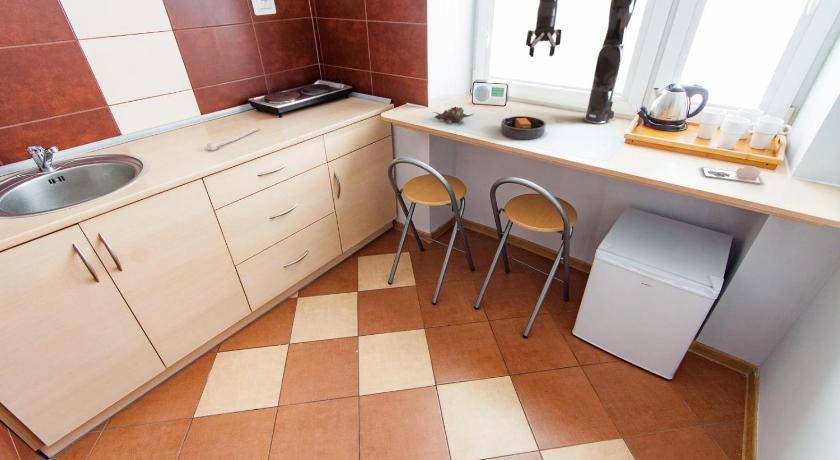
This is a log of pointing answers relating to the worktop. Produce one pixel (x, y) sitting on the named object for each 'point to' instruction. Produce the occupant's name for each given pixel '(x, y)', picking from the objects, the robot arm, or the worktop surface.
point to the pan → (523, 134)
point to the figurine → (452, 115)
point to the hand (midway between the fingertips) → (541, 56)
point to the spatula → (213, 145)
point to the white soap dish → (735, 174)
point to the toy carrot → (522, 123)
